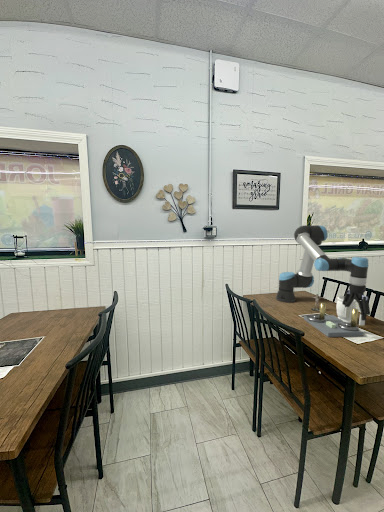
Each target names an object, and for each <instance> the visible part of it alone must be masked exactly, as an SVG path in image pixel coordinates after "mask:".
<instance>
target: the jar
mask: <svg viewBox="0 0 384 512" xmlns="http://www.w3.org/2000/svg"><path fill="white" fill-rule="evenodd" d="M344 297H345V295H344V296H343V295H339V296H337V298H336V299H337V301H336V307H335V308H336V315H337V316H336V317H337V318H339V319H341V320H343V321H344V322H347V323H351V315H352V308H355V309H357V304H356V303H357V301H356V300H355V299H354V301H353V302H352V303H351V305H350V306H349V307H351V309H350V318H345V306H344V305H343V304H342V303H343V300H344ZM345 303H346V302H345Z"/></svg>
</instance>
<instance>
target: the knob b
mask: <svg viewBox="0 0 384 512" xmlns="http://www.w3.org/2000/svg"><path fill="white" fill-rule="evenodd" d="M358 318H359V309H358V308H356V309H355V308H352V315H351V323H347V322H339V323H338V326H339V327H340V328H342V329H345V330H349V331H357V330H360V329H359V328H360V327H359V325H358V321H359V320H358Z"/></svg>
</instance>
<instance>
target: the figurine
mask: <svg viewBox="0 0 384 512" xmlns="http://www.w3.org/2000/svg"><path fill="white" fill-rule="evenodd" d="M308 298H311V299H314V301H315V304H314V307H312V308H311V310H312V311H313V312H319V313H320V305H319V301H320V299H324V297H322V296H321V297H320V296H319V293H316V296H309V297H308Z"/></svg>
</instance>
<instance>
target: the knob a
mask: <svg viewBox="0 0 384 512" xmlns="http://www.w3.org/2000/svg"><path fill="white" fill-rule="evenodd" d="M326 306H327V303H326V302H320V305H319V309H320V312H319V314H317V315H316V314H308V315H306V316H307V319H309V320H311V321H314V322H324V321H325V315H326V310H327V309H326V308H327V307H326ZM318 315H319V316H318Z"/></svg>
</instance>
